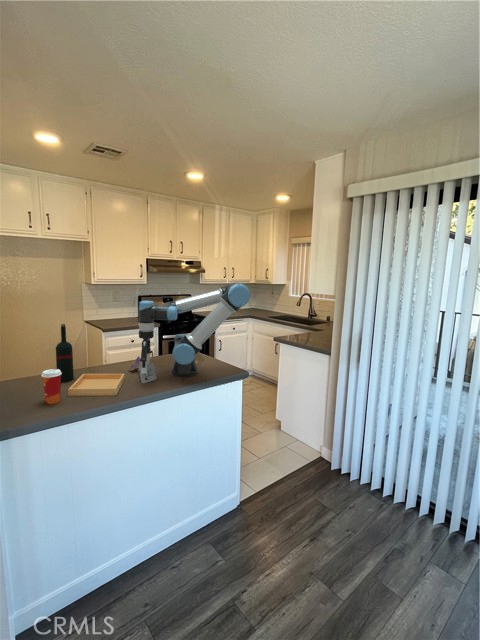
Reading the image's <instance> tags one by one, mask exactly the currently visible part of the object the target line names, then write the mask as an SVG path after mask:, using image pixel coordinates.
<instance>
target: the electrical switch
mask: <svg viewBox="0 0 480 640" xmlns="http://www.w3.org/2000/svg"><path fill="white" fill-rule="evenodd" d="M136 369H137V375H138V381H139V383H141V384H146V383H149V382H153V381H156V380H157V379H158V378H157V372H156V367H155V363H154V362H150V364H147V374H142V373H141V365H140V366H138V367H136Z"/></svg>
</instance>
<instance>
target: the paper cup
mask: <svg viewBox="0 0 480 640" xmlns="http://www.w3.org/2000/svg"><path fill="white" fill-rule="evenodd" d="M61 374H62V373H61V371H60V370H59V369H57V368H56V369H53V368H51V369H46V370H44V371H42V373H41V375H40V376H41V377H42V385H43V390H44V391H43V394H44V400H45V404H47V405H54V404H58V403H60V402H61V392H62V391H61V387H62V386H61V385H62V383H61Z"/></svg>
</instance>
